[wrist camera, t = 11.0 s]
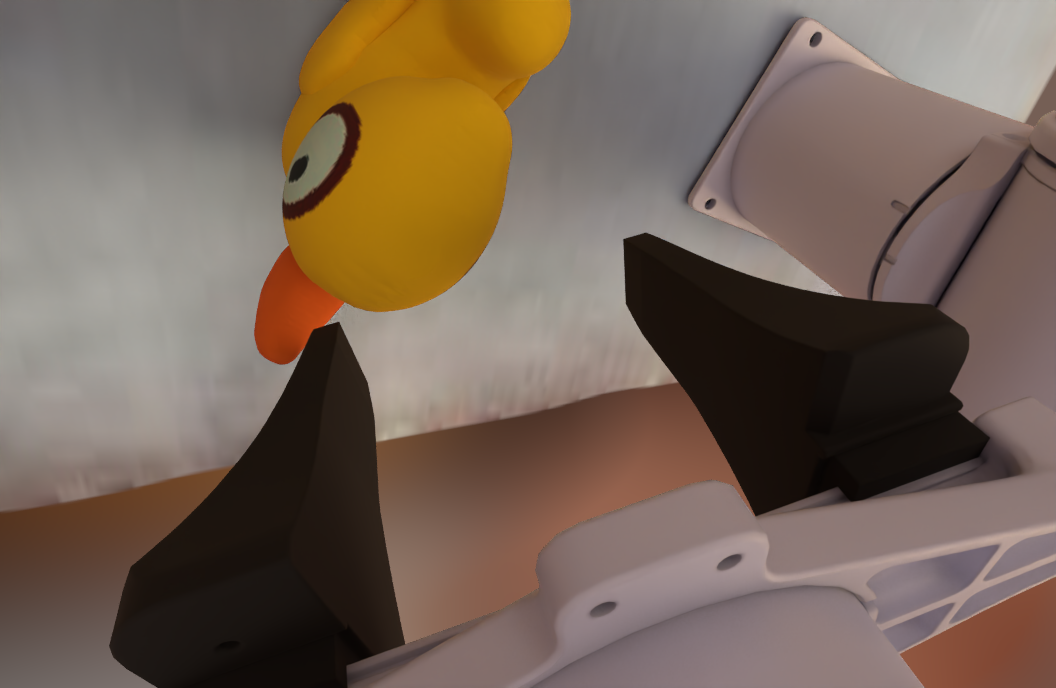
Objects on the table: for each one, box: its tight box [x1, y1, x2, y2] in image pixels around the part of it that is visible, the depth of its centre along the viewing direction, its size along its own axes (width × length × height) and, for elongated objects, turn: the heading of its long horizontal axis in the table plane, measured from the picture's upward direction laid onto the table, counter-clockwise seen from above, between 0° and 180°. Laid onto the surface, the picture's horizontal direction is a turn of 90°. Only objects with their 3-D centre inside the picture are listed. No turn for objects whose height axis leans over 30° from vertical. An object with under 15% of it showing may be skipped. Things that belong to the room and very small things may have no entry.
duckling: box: [254, 0, 571, 364], centre depth 15 cm, size 11×5×10 cm, turn 132°
